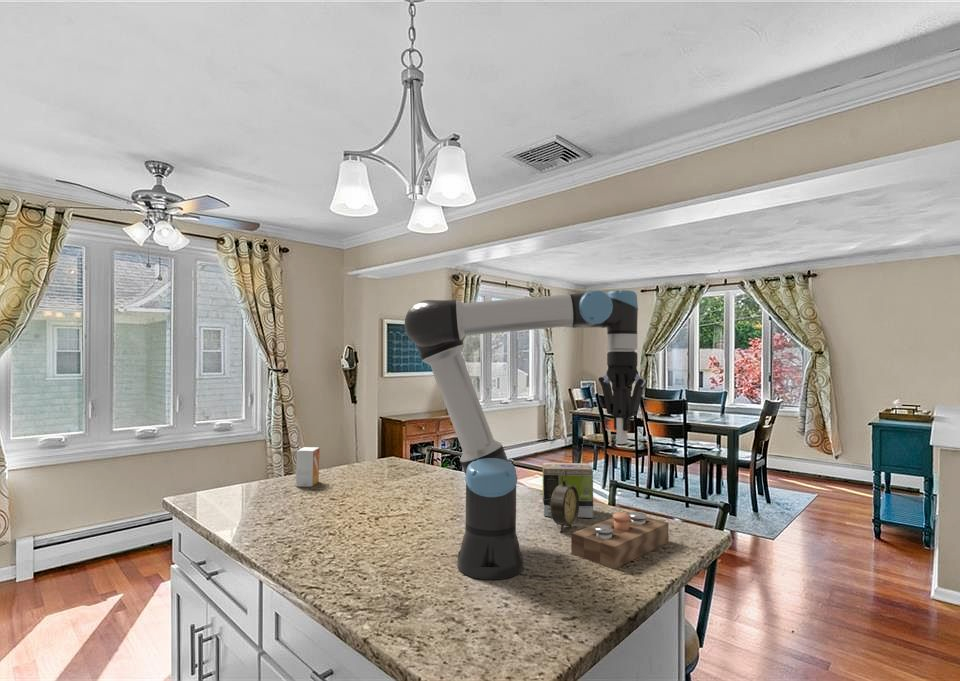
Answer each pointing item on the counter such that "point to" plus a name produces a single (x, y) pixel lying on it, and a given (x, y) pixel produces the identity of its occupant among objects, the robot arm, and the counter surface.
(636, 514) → the grey plug far
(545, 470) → the tea box
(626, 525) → the terracotta plug
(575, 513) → the alarm clock
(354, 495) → the counter surface
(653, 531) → the walnut block
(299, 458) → the small box
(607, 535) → the grey plug near
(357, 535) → the counter surface
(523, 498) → the counter surface
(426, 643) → the counter surface
